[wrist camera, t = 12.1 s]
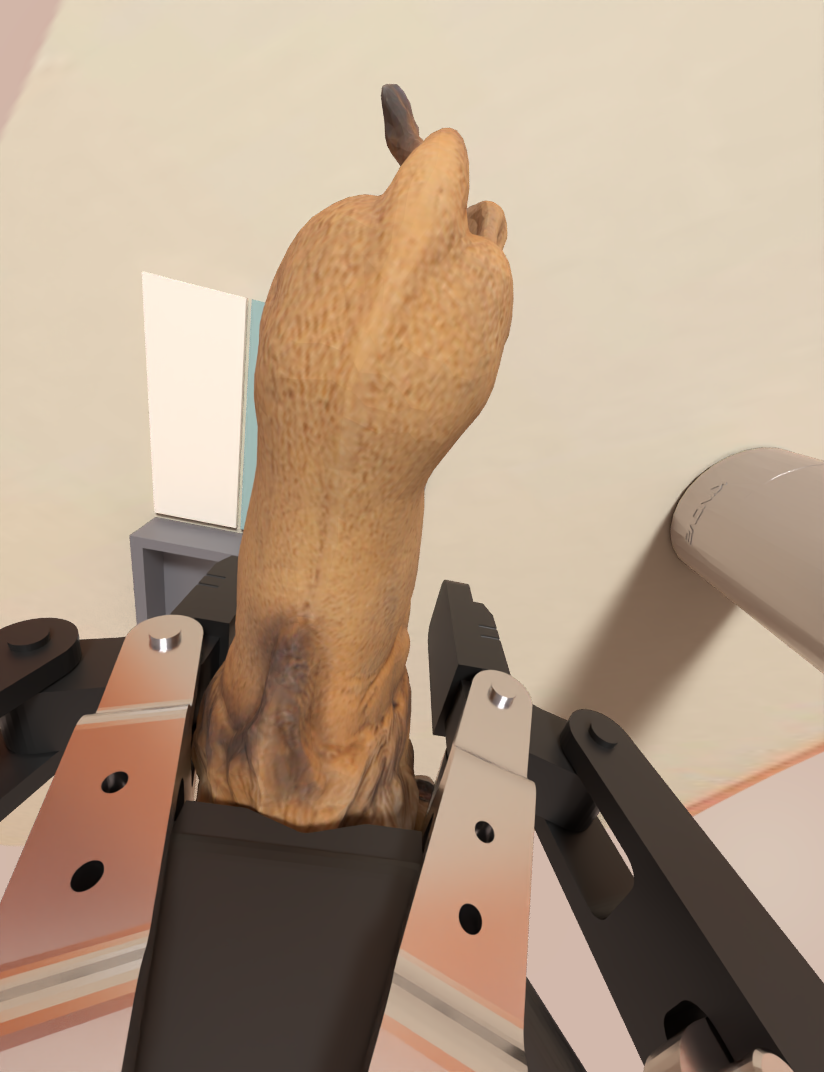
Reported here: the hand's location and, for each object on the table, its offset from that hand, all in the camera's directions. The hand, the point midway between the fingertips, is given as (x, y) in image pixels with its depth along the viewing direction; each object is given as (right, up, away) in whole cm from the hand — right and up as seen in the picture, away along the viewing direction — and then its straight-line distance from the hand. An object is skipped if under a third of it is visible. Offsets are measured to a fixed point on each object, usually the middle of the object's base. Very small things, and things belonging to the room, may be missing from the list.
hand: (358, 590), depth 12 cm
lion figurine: (+1, +3, 0) cm, 3 cm away
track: (-6, +8, +13) cm, 16 cm away
